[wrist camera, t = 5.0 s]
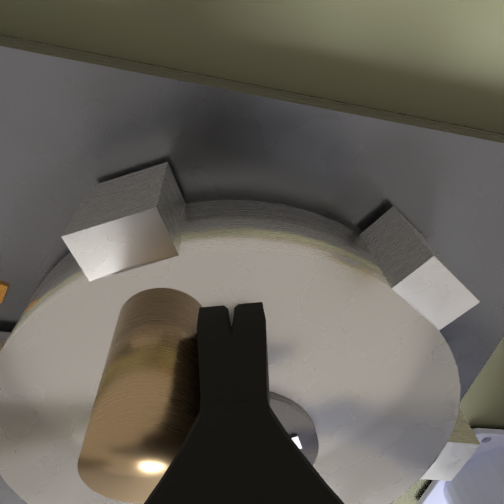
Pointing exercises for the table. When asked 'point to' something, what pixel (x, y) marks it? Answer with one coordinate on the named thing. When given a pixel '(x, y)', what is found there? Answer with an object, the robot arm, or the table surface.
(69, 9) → the table surface
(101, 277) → the slotted notched disc
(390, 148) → the base plate
